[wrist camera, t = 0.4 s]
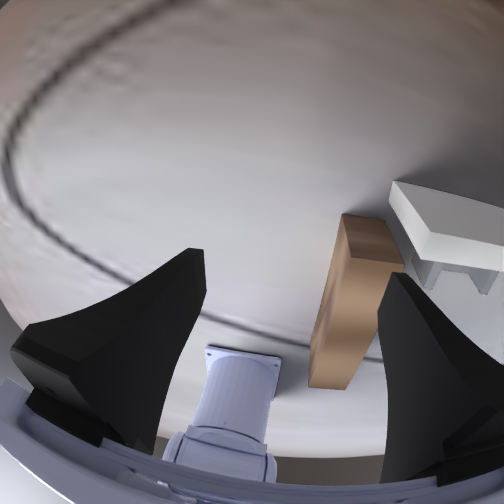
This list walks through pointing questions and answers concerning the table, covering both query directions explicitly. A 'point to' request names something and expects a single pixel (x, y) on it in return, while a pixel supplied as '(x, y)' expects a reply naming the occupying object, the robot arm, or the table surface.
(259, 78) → the table surface
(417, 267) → the bracket
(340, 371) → the rail
